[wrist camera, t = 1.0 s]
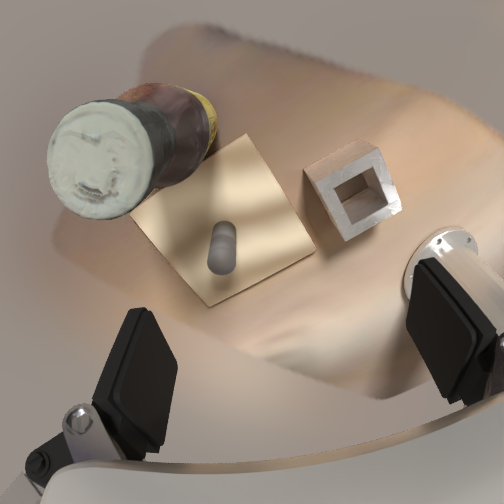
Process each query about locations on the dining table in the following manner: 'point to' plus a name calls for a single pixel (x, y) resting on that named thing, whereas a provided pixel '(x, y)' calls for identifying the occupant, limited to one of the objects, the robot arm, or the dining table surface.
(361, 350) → the dining table surface
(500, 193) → the dining table surface
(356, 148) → the collar
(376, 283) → the dining table surface
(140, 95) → the sauce bottle
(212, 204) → the post block
